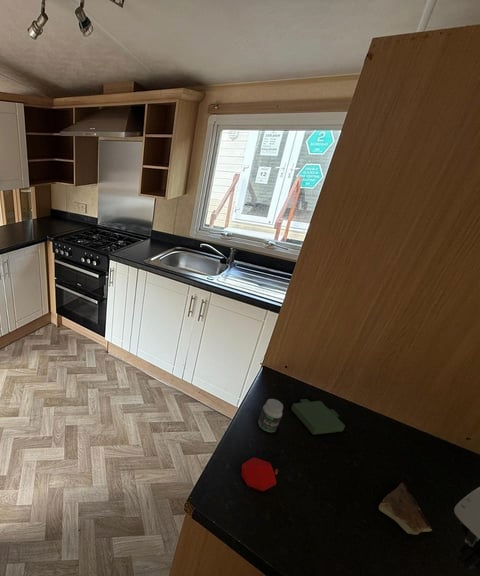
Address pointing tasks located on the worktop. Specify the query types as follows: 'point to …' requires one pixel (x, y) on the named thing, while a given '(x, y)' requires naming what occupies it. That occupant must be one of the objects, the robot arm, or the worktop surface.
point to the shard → (405, 510)
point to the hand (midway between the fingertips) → (469, 562)
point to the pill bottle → (270, 415)
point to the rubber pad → (317, 417)
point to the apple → (258, 474)
